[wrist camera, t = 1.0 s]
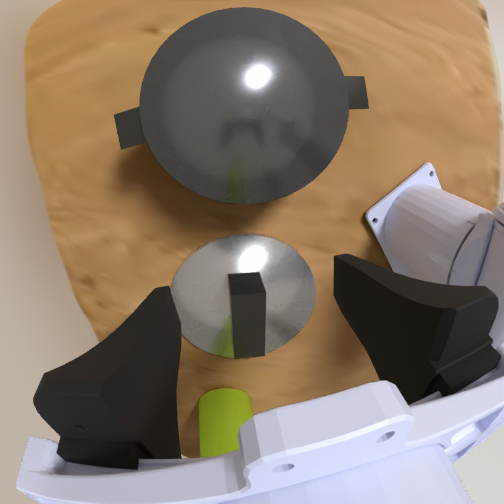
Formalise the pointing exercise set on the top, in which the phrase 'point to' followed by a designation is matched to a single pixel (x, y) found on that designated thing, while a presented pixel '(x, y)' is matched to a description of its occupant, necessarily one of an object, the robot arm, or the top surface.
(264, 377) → the top surface
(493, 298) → the robot arm
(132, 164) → the top surface
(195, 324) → the cooker lid
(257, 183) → the cooker pot
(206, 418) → the soap dispenser
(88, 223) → the top surface
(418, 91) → the top surface
